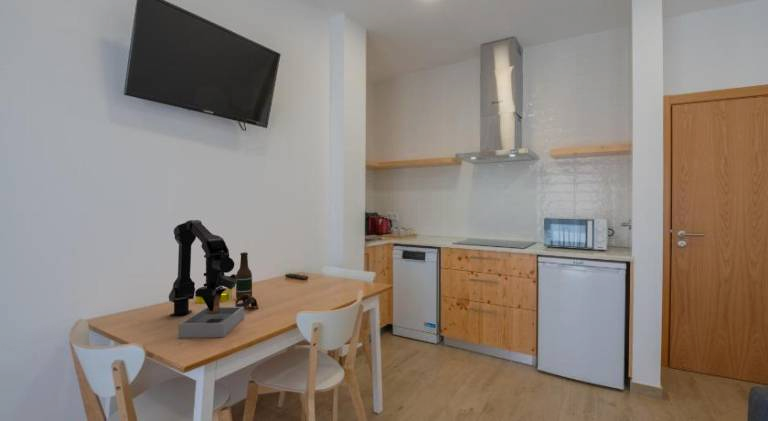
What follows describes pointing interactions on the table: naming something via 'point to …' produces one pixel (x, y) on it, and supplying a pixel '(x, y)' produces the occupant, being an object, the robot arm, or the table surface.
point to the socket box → (211, 323)
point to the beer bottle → (244, 277)
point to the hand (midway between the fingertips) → (213, 309)
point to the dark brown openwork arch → (246, 301)
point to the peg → (215, 306)
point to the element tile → (224, 298)
